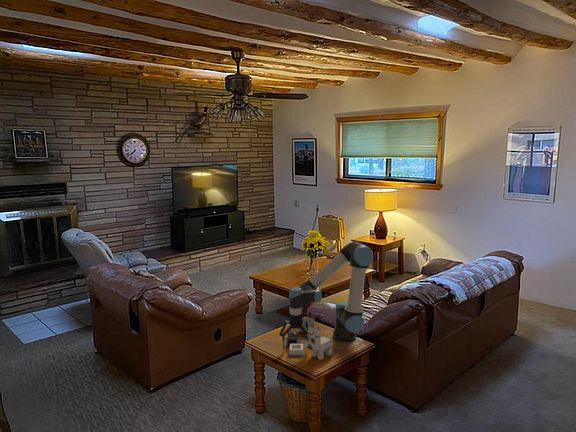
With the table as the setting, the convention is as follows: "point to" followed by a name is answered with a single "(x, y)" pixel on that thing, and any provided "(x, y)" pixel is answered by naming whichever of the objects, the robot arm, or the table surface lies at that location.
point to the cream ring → (296, 349)
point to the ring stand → (293, 338)
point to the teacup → (310, 322)
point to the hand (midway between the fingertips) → (296, 346)
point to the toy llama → (318, 343)
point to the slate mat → (296, 354)
